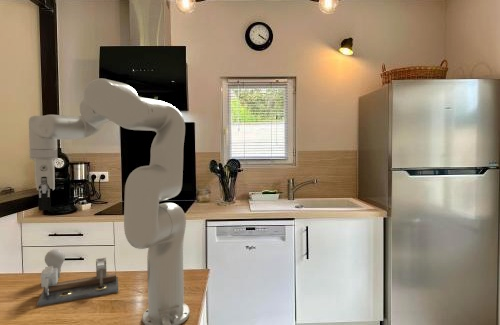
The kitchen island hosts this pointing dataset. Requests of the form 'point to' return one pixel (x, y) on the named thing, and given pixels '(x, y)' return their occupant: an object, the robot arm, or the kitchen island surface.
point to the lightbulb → (55, 259)
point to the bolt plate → (78, 293)
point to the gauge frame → (99, 278)
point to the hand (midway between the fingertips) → (45, 207)
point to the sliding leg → (49, 278)
